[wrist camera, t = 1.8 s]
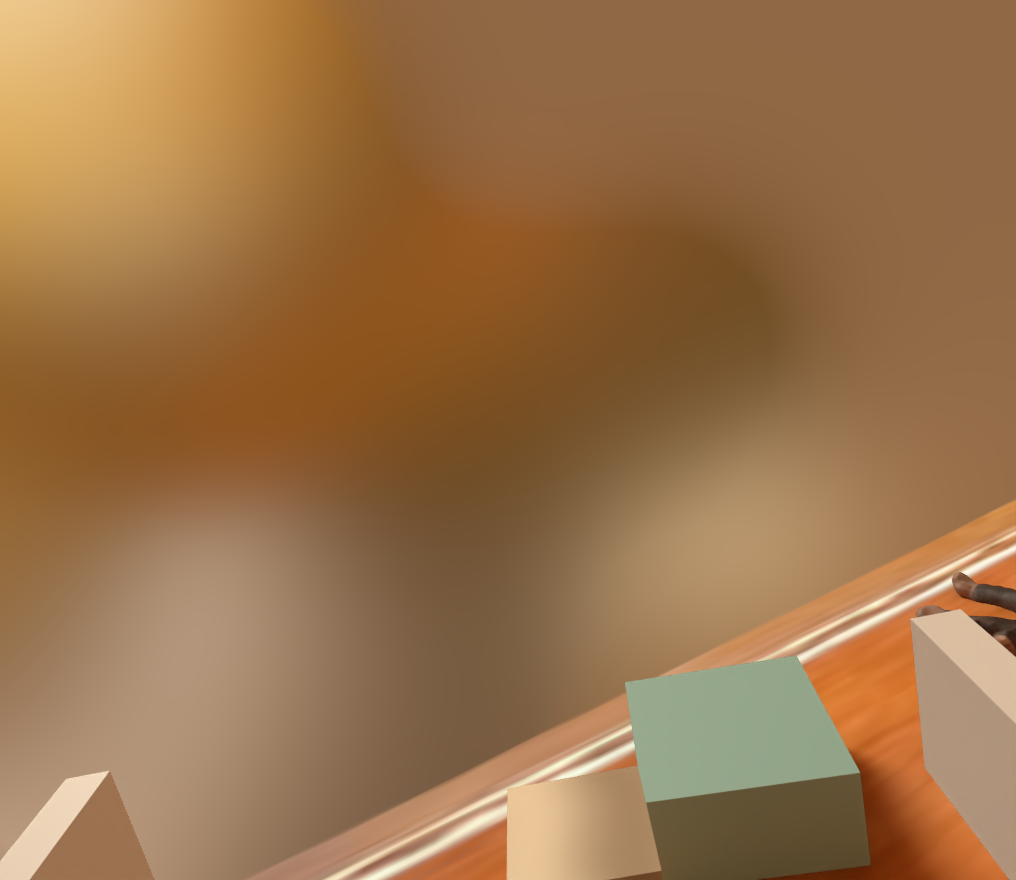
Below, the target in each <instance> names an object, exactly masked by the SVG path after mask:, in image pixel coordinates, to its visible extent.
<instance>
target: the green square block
mask: <svg viewBox="0 0 1016 880" xmlns="http://www.w3.org/2000/svg"><path fill="white" fill-rule="evenodd" d="M625 685H626V692H627V698H628V705H629V711H630V718H631V724H632V731H633V737H634V744H635V750H636V757H637V763H638V769H639V774H640V778H641V783H642V787H643V791H644V796H645V800H646V805H647V809H648V813H649V818H650V822H651V827H652V831H653V835H654V840H655V844H656V849H657V853H658V857H659V862H660V866H661V871H662V876H663V880H758V879H766V878H774V877H782V876H790V875H798V874H806V873H814V872H822V871H830V870H838V869H846V868H854V867H862V866H870V865H871V861H870V852H869V844H868V835H867V826H866V818H865V809H864V800H863V792H862V783H861V774H860V771H859V769H858V767H857V766H856V764H855V762H854V760H853V758H852V757H851V755H850V753H849V751H848V749H847V747H846V746H845V744H844V742H843V740H842V738H841V736H840V735H839V733H838V731H837V729H836V727H835V725H834V724H833V722H832V720H831V718H830V716H829V714H828V713H827V711H826V709H825V707H824V705H823V703H822V702H821V700H820V698H819V696H818V694H817V692H816V691H815V689H814V687H813V685H812V683H811V681H810V680H809V678H808V676H807V674H806V672H805V670H804V669H803V667H802V665H801V663H800V661H799V659H798V658H797V656H790V657H784V658H777V659H771V660H765V661H758V662H752V663H746V664H739V665H733V666H727V667H720V668H714V669H707V670H701V671H695V672H688V673H682V674H676V675H669V676H663V677H656V678H651V679H644V680H638V681H631V682H625Z"/></svg>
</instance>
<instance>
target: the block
mask: <svg viewBox="0 0 1016 880" xmlns="http://www.w3.org/2000/svg"><path fill="white" fill-rule="evenodd" d="M507 880H663V876H662V871H661V866H660V862H659V857H658V853H657V849H656V844H655V840H654V835H653V831H652V827H651V822H650V818H649V813H648V809H647V805H646V800H645V796H644V791H643V787H642V783H641V778H640V774H639V769H638V766H633V767H627V768H622V769H616V770H611V771H605V772H599V773H594V774H588V775H582V776H577V777H571V778H565V779H560V780H554V781H548V782H543V783H537V784H531V785H526V786H520V787H515V788H509V789H508V807H507Z"/></svg>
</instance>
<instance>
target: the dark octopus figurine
mask: <svg viewBox="0 0 1016 880" xmlns="http://www.w3.org/2000/svg"><path fill="white" fill-rule="evenodd" d="M952 582H953V586H954V588H955V590H956V592H957V593H958V594H959V595H961V596H963V597H965V598H968V599H971V600H973V601H976V602H980V603H986V604H991V605H996V606H999V607H1002V608H1005V609H1008V610H1011V611H1013V612H1015V613H1016V590H1014V589H1011V588H1004V587H1001V586H992V585H988V584H976V583H975V582H974V581H973V580H972V579H971V578H969V577H968V576H967V575H965V574H963V573H961V572H958V573H956V574H954V576H953V578H952ZM949 611H951V610H944V609H942V608H940V607H938V606H935V605H929V606H924V607H920V608H919V609H918V610H917V612H916V618H917V617H922V616H928V615H933V614H938V613H943V612H949ZM969 617H970V618H971V619H972V620H973V621H975V622H976V623H977V624H978V625H979V626H980V627H982V628H983V629H984V630H985V631H986V632H987V633H989V634H990V635H991V636H992V637H993V638H994V639H995V640H997V641H998V642H999V643H1000V644H1001V645H1002V646H1004V647H1005V648H1006V649H1007V650H1008V651H1009V652H1010V653H1012V654H1013V655H1014V656H1015V657H1016V620H1010V619H1005V618H999V617H990V616H969Z"/></svg>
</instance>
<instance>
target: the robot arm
mask: <svg viewBox="0 0 1016 880" xmlns="http://www.w3.org/2000/svg"><path fill="white" fill-rule="evenodd" d="M911 629H912V640H913V650H914V660H915V671H916V681H917V692H918V702H919V712H920V723H921V733H922V744H923V754H924V764H925V769H926V770H927V771H928V773H929V774H930V775H931V777H932V778H933V779H934V781H935V782H936V783H937V784H938V786H939V787H940V788H941V790H942V791H943V792H944V794H945V795H946V796H947V798H948V799H949V800H950V802H951V803H952V804H953V806H954V807H955V808H956V810H957V811H958V812H959V814H960V815H961V816H962V818H963V819H964V820H965V822H966V823H967V824H968V826H969V827H970V828H971V830H972V831H973V832H974V834H975V835H976V836H977V837H978V839H979V840H980V841H981V843H982V844H983V845H984V847H985V848H986V849H987V851H988V852H989V853H990V855H991V856H992V857H993V859H994V860H995V861H996V863H997V864H998V865H999V867H1000V868H1001V869H1002V871H1003V872H1004V873H1005V875H1006V876H1007V877H1008V879H1009V880H1016V657H1015V656H1014V655H1013V654H1012V653H1010V652H1009V651H1008V650H1007V649H1006V648H1005V647H1004V646H1002V645H1001V644H1000V643H999V642H998V641H997V640H995V639H994V638H993V637H992V636H991V635H990V634H989V633H987V632H986V631H985V630H984V629H983V628H982V627H980V626H979V625H978V624H977V623H976V622H975V621H973V620H972V619H971V618H970V617H969V616H968V615H967V614H965V613H964V612H963V611H962V610H961V609H959V610H954V611H949V612H943V613H938V614H933V615H928V616H922V617H917V618H912V619H911ZM0 880H154V878H153V876H152V873H151V870H150V868H149V865H148V863H147V861H146V858H145V856H144V853H143V851H142V848H141V846H140V843H139V842H138V839H137V836H136V834H135V831H134V829H133V826H132V824H131V821H130V819H129V817H128V814H127V812H126V809H125V807H124V805H123V802H122V800H121V797H120V795H119V792H118V790H117V787H116V785H115V783H114V780H113V778H112V775H111V773H110V771H106V772H101V773H95V774H90V775H85V776H80V777H74V778H69V779H66V780H65V781H64V782H63V784H62V785H61V786H60V787H59V789H58V790H57V791H56V792H55V793H54V795H53V796H52V797H51V799H50V800H49V801H48V802H47V803H46V805H45V806H44V807H43V808H42V810H41V811H40V812H39V813H38V815H37V816H36V817H35V818H34V820H33V821H32V822H31V823H30V825H29V826H28V827H27V828H26V830H25V831H24V832H23V833H22V835H21V836H20V837H19V838H18V840H17V841H16V842H15V843H14V845H13V846H12V847H11V848H10V850H9V851H8V852H7V853H6V855H5V856H4V857H3V858H2V860H1V861H0Z"/></svg>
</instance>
